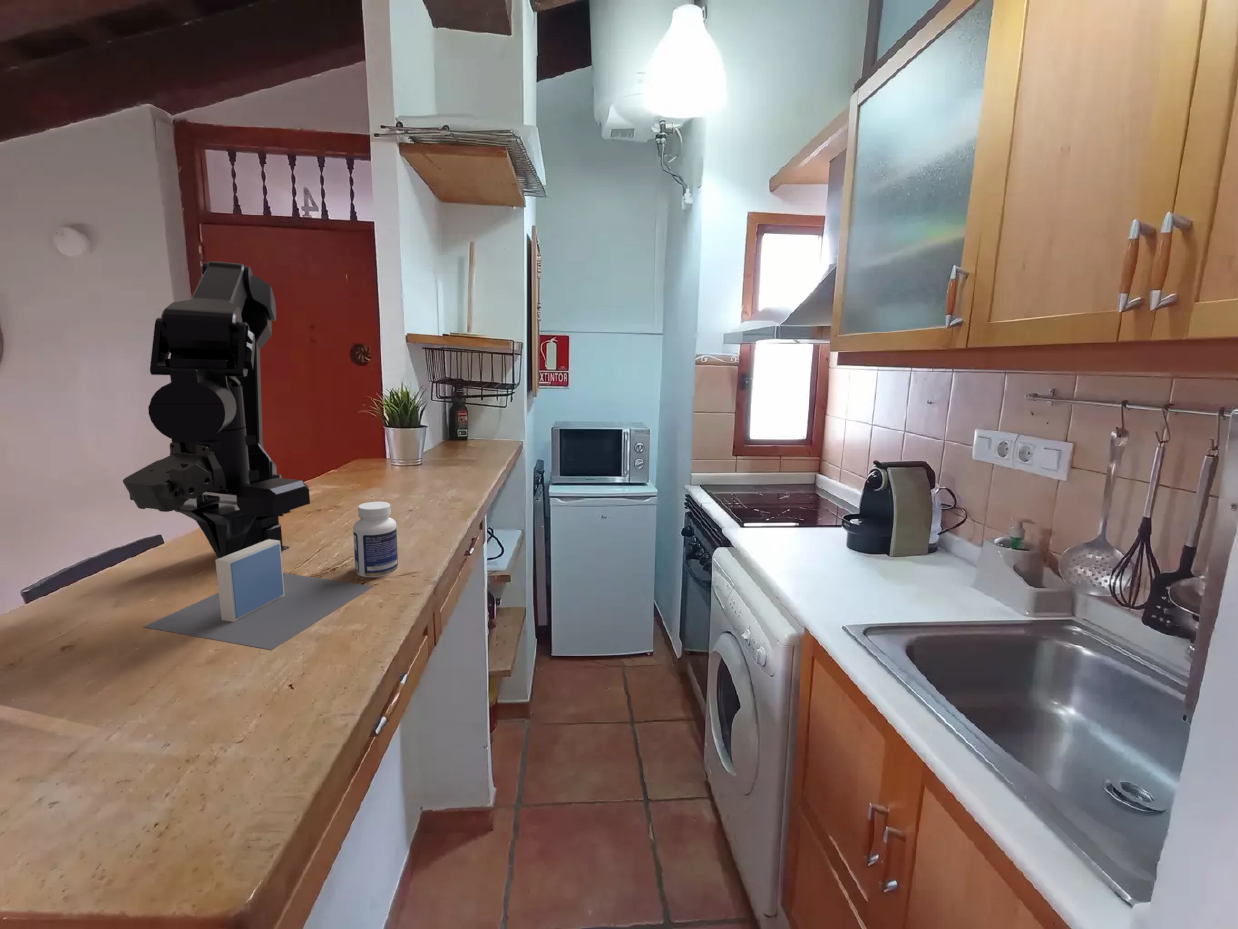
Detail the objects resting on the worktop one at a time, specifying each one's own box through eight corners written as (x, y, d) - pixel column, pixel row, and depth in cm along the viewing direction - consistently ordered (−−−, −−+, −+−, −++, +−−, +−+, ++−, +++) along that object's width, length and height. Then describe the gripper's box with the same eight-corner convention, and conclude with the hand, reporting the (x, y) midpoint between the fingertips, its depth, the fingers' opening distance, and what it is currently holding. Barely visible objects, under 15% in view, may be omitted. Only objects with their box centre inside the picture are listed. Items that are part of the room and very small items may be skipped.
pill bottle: (406, 569, 78) (404, 503, 76) (378, 584, 73) (375, 513, 71) (375, 563, 80) (373, 497, 78) (346, 576, 75) (342, 507, 73)
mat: (143, 631, 59) (143, 626, 59) (267, 574, 74) (267, 570, 74) (272, 655, 56) (271, 649, 55) (373, 590, 71) (373, 586, 71)
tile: (221, 619, 61) (215, 559, 59) (273, 593, 67) (268, 539, 66) (235, 622, 60) (229, 561, 59) (285, 595, 67) (281, 540, 66)
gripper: (61, 430, 54) (84, 579, 58) (217, 445, 51) (232, 604, 54) (173, 419, 65) (187, 544, 68) (309, 430, 61) (317, 563, 64)
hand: (227, 562), depth 63 cm, fingers closed
